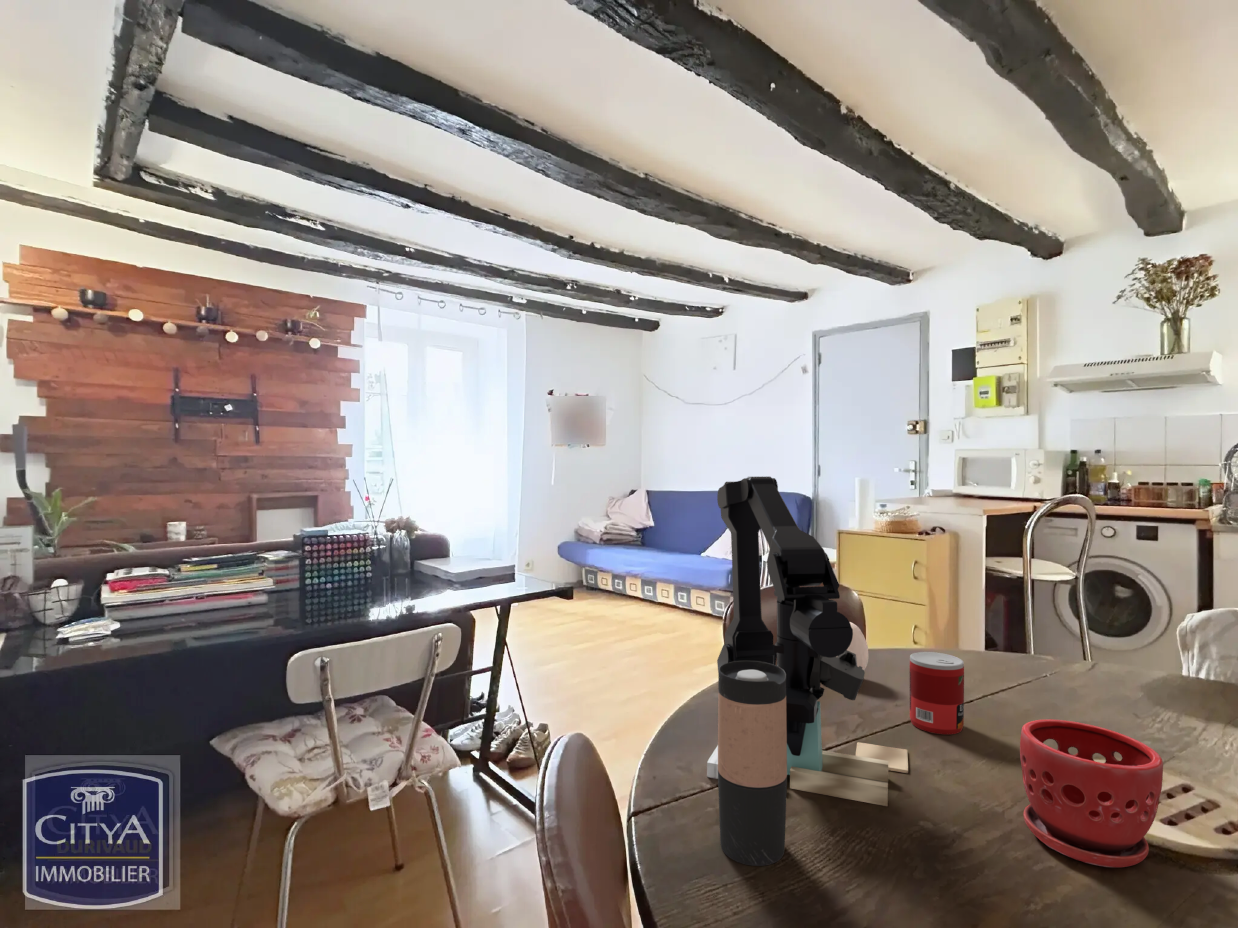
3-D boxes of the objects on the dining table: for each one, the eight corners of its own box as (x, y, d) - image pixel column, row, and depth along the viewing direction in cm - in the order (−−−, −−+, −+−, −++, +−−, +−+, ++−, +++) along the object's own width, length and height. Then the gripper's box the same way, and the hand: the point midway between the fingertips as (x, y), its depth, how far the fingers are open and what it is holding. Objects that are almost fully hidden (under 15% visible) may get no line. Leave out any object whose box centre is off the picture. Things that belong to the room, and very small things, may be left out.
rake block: (785, 774, 90) (782, 708, 90) (789, 761, 94) (787, 698, 94) (819, 779, 89) (816, 711, 89) (822, 766, 92) (820, 701, 92)
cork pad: (854, 764, 95) (854, 761, 95) (857, 744, 101) (857, 741, 101) (908, 773, 92) (908, 770, 92) (907, 752, 99) (907, 749, 99)
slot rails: (790, 788, 88) (790, 770, 88) (798, 762, 95) (798, 746, 95) (887, 806, 84) (887, 787, 84) (888, 778, 91) (888, 760, 91)
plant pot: (1114, 894, 67) (1115, 775, 67) (994, 827, 79) (994, 726, 79) (1189, 862, 72) (1190, 752, 72) (1065, 804, 84) (1066, 709, 84)
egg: (838, 670, 136) (838, 614, 136) (875, 679, 131) (875, 621, 130) (817, 679, 131) (817, 621, 131) (855, 689, 125) (855, 629, 125)
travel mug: (711, 829, 79) (710, 660, 78) (774, 826, 79) (774, 659, 79) (727, 869, 71) (726, 683, 71) (797, 865, 72) (797, 680, 71)
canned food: (970, 737, 104) (970, 667, 104) (915, 733, 106) (915, 664, 105) (955, 718, 111) (955, 652, 111) (904, 714, 113) (905, 650, 113)
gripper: (856, 661, 80) (856, 791, 80) (863, 624, 97) (863, 731, 97) (762, 651, 84) (763, 774, 84) (785, 617, 101) (785, 719, 101)
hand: (798, 748), depth 92 cm, fingers closed on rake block, 4 cm apart
